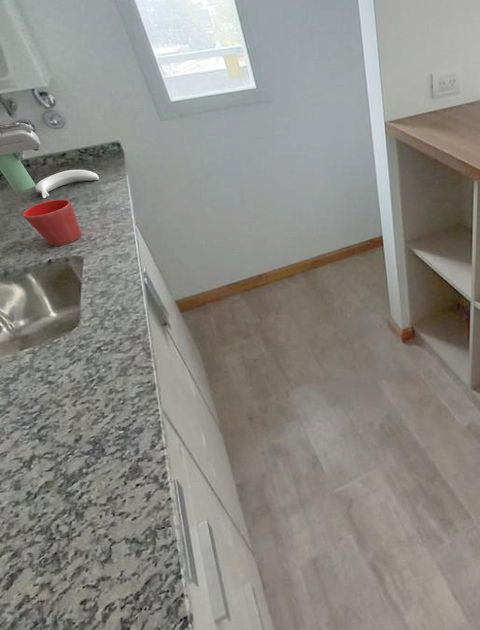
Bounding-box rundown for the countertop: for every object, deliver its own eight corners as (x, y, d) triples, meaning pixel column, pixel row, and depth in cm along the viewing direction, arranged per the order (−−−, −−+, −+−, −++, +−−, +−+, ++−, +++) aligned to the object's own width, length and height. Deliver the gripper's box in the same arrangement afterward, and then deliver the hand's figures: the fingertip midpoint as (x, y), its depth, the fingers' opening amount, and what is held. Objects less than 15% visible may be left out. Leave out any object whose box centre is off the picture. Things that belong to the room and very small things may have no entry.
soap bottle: (13, 192, 124) (-25, 137, 115) (15, 187, 127) (-21, 133, 118) (34, 187, 126) (-1, 133, 116) (36, 182, 129) (2, 129, 120)
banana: (101, 175, 168) (96, 188, 157) (45, 189, 163) (36, 203, 152) (93, 162, 165) (88, 174, 154) (36, 176, 160) (27, 189, 149)
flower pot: (88, 240, 123) (68, 208, 117) (42, 252, 119) (19, 219, 113) (89, 227, 130) (70, 195, 124) (45, 238, 126) (24, 206, 120)
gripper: (19, 110, 113) (46, 141, 126) (-81, 127, 106) (-42, 158, 119) (28, 132, 113) (54, 160, 126) (-72, 150, 105) (-34, 179, 118)
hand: (7, 159), depth 122 cm, fingers closed on soap bottle, 5 cm apart
